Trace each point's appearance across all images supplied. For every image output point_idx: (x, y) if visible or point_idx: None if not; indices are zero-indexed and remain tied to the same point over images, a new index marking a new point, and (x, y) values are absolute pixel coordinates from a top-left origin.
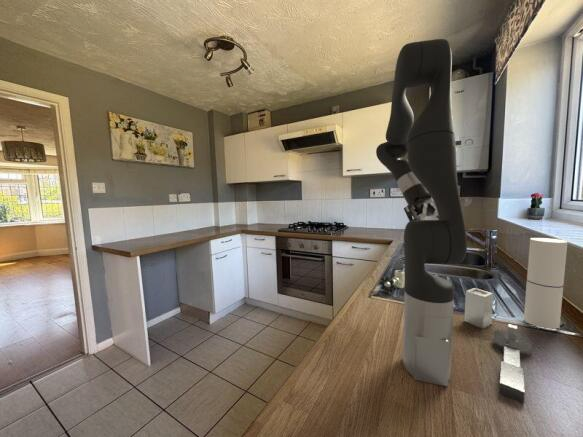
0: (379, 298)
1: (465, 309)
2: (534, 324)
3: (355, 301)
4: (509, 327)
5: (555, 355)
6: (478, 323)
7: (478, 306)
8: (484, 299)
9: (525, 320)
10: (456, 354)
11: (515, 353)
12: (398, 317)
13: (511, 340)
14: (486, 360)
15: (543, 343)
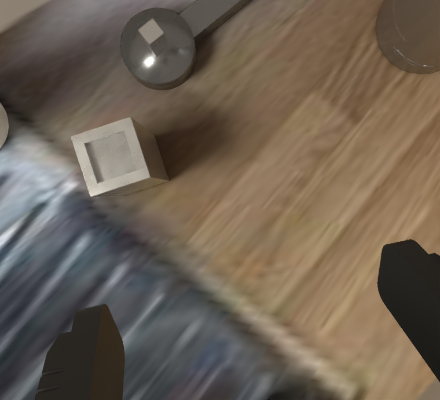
0: (332, 373)
1: (162, 177)
2: (3, 116)
3: (428, 369)
4: (162, 32)
5: (94, 12)
6: (156, 145)
7: (146, 140)
8: (133, 119)
9: (1, 141)
10: (315, 56)
11: (203, 3)
12: (346, 238)
13: (171, 35)
14: (265, 26)
15: (68, 53)
